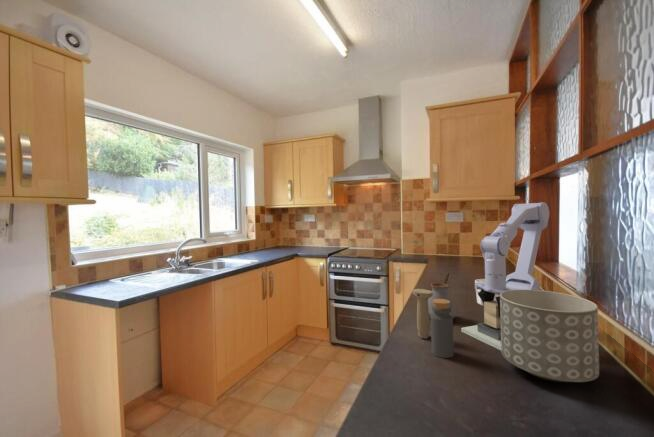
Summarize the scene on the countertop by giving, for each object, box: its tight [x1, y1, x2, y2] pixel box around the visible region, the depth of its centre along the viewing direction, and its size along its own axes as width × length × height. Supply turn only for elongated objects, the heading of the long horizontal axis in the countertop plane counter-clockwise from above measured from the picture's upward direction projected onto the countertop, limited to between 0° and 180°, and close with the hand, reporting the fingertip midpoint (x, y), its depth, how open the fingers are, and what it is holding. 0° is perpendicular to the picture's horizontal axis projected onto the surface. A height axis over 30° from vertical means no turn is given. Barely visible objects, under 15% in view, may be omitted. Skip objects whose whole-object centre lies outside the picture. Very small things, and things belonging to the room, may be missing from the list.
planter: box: [500, 289, 600, 383], centre depth 70 cm, size 19×19×18 cm
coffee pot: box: [428, 272, 457, 320], centre depth 113 cm, size 21×12×15 cm, turn 144°
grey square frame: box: [476, 322, 501, 341], centre depth 91 cm, size 9×8×2 cm
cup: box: [474, 278, 500, 306], centre depth 125 cm, size 10×10×10 cm
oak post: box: [483, 300, 501, 328], centre depth 91 cm, size 4×4×7 cm
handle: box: [411, 288, 433, 340], centre depth 92 cm, size 5×6×15 cm
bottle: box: [430, 299, 455, 359], centre depth 81 cm, size 6×6×15 cm
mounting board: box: [460, 324, 501, 351], centre depth 91 cm, size 13×16×7 cm
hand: (496, 316), depth 91 cm, fingers closed on oak post, 4 cm apart
